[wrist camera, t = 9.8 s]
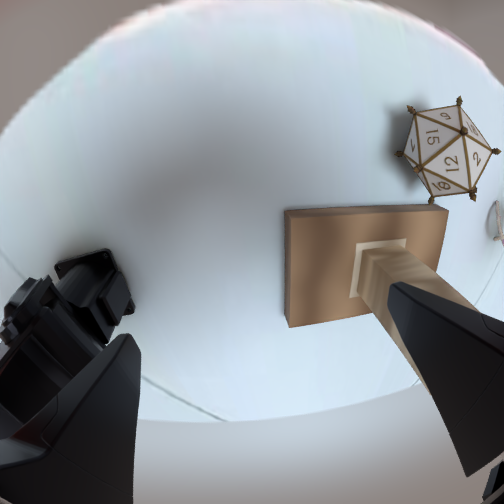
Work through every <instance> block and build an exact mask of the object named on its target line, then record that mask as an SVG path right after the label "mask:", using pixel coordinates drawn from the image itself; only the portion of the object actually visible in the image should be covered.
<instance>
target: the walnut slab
mask: <svg viewBox="0 0 504 504" xmlns="http://www.w3.org/2000/svg"><path fill="white" fill-rule="evenodd" d="M448 213H449V210H447V209H445V208H443V207H440V206H438V205H436V204H431V205H430V206H429V204H425V205H382V206H356V207H336V208H318V209H302V210H288V211H285V312H284V315H285V317H286V320H287V323H288V326H289V328H293V327H299V326H305V325H311V324H317V323H323V322H329V321H334V320H339V319H345V318H350V317H355V316H360V315H364V314H369V313H373V312H372V311H371V310H370V308H369V307H368V306H367V304H366V303H365V302H364V300H363V299H362V298H361V296H360V295H359V294H358V293H357V285H358V279H359V272H360V264H361V257H362V250H365V249H373V248H381V247H389V246H397V245H401V246H402V247H404V248H405V249H406V250H408V251H409V252H410V253H412V254H413V255H414V256H415V257H417V258H418V259H419V260H420V261H422V262H423V263H424V264H426V265H427V266H428V267H429V268H430V269H432V270H433V271H434V272H435V273H436V270H437V266H438V262H439V258H440V254H441V249H442V245H443V240H444V235H445V230H446V225H447V219H448Z"/></svg>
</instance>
